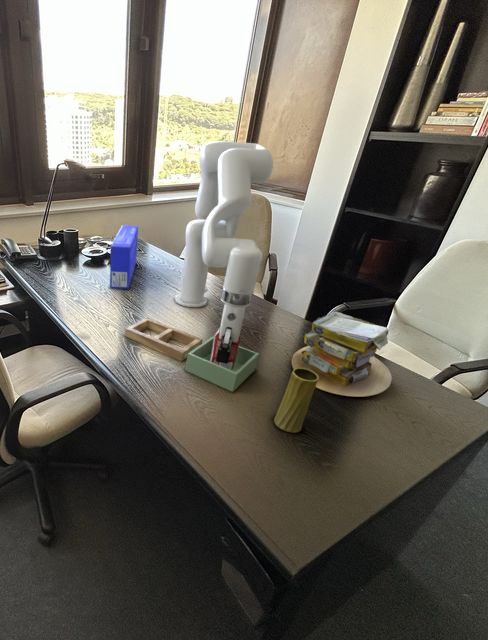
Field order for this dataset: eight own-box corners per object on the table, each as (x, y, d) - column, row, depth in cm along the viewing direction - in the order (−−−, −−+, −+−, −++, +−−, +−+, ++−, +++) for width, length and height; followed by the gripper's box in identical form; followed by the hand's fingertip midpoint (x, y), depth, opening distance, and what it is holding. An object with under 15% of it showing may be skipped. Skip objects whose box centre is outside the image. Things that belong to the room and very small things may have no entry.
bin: (209, 351, 115) (212, 335, 113) (254, 370, 107) (259, 353, 105) (184, 370, 106) (187, 353, 103) (232, 392, 98) (237, 374, 95)
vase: (269, 415, 90) (285, 366, 83) (293, 415, 90) (311, 366, 83) (281, 433, 85) (299, 382, 77) (306, 432, 85) (327, 382, 78)
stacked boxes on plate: (337, 406, 94) (362, 349, 86) (273, 356, 115) (288, 306, 106) (407, 391, 101) (437, 338, 93) (336, 347, 122) (355, 299, 113)
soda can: (233, 375, 103) (243, 338, 97) (208, 372, 104) (216, 334, 98) (231, 363, 109) (240, 326, 102) (208, 359, 110) (215, 323, 104)
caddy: (146, 325, 130) (146, 317, 128) (201, 347, 118) (202, 339, 116) (124, 336, 122) (125, 328, 120) (181, 361, 110) (182, 352, 108)
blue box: (120, 261, 191) (122, 224, 182) (136, 263, 191) (139, 226, 181) (108, 288, 158) (110, 245, 149) (128, 290, 157) (131, 246, 148)
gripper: (249, 311, 87) (234, 374, 96) (253, 287, 101) (239, 344, 110) (217, 305, 89) (205, 368, 98) (225, 283, 103) (214, 339, 112)
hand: (223, 355), depth 104 cm, fingers closed on soda can, 6 cm apart
